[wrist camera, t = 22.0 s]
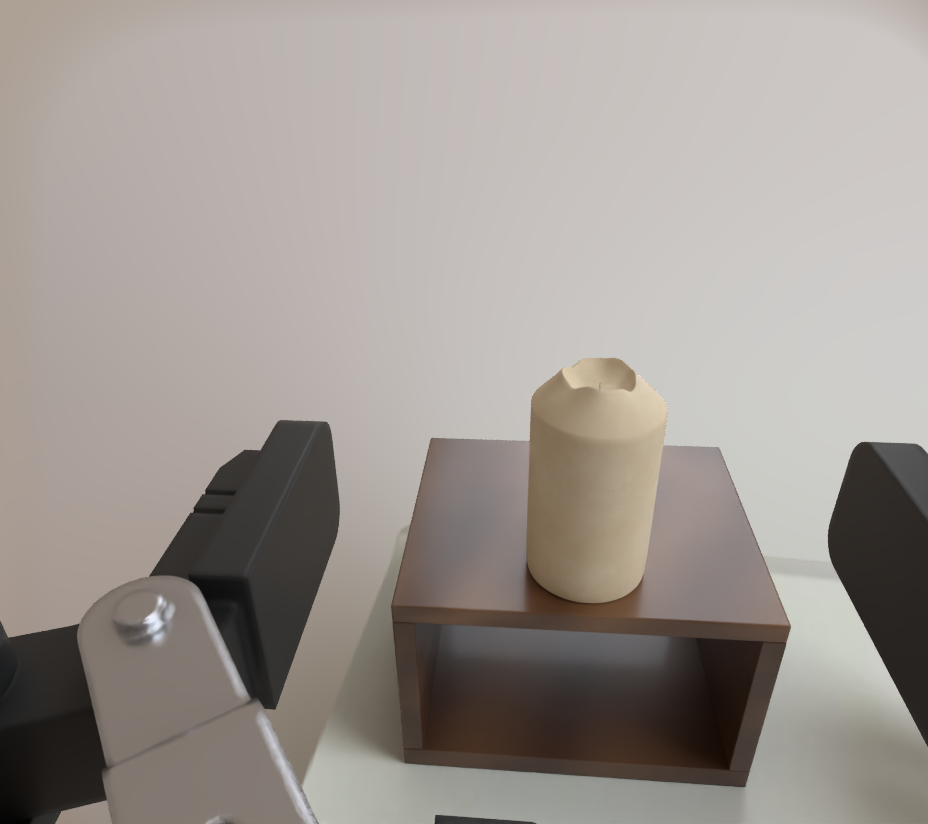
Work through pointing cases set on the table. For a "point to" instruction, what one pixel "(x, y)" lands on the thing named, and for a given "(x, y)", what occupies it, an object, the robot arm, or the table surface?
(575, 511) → the candle
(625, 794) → the table surface
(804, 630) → the table surface
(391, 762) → the table surface
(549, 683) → the shelf
